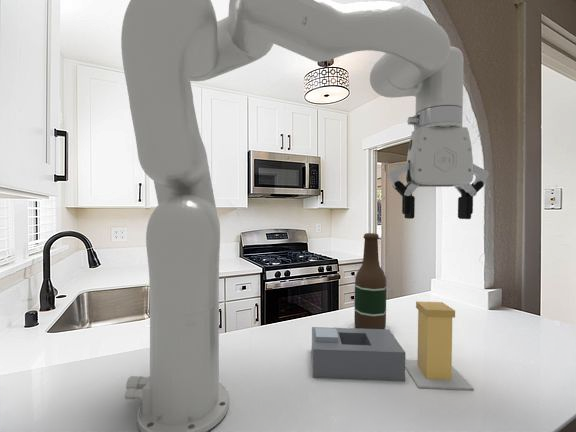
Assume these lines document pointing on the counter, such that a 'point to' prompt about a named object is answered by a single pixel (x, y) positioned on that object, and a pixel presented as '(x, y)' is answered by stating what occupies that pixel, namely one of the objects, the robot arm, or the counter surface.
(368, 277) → the beer bottle
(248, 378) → the counter surface
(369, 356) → the grey block with hole
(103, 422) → the counter surface
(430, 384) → the mat
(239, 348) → the counter surface
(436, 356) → the plug
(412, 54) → the robot arm
